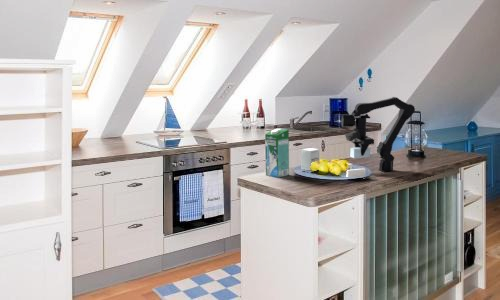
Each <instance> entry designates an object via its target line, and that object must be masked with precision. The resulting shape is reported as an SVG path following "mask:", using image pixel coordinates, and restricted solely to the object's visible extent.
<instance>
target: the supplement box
mask: <svg viewBox="0 0 500 300" xmlns="http://www.w3.org/2000/svg"><path fill="white" fill-rule="evenodd" d="M300 153H301V154H300V155H301V157H300V158H301V162H300V163H301V164H300V165H301V167H300V169H305V170H311V169H310V166H311V163H312V162H315V161H319V162H320V148H313V147H309V148H308V147H307V148H303V149H301V151H300Z"/></svg>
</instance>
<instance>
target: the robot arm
mask: <svg viewBox="0 0 500 300" xmlns="http://www.w3.org/2000/svg"><path fill="white" fill-rule="evenodd" d="M390 106H391V107H392V106H395V107H396V108H397V109H399V110H398V116H397V118H396V120H395V122H394V123H393V126H392V127H391V129H390V131H389V133H388V135H387V136H386V137H385V139H384V141H379V144H378V145H377V147H376V154H377V155H378V156H379V158H380V160H379V168H378V171H381V172H383V173H389V172H390V173H391V172H395V169H394V160H395V156H394V155H393V154H391V153H392V151H393V145H394V142H395V141H396V139H397V137H398V135H399V134H400V132H401V130H402V128H403V127H404V126H405V123H406V122H407V121H408V120H409V119H410V118H411V117H412V115H413V114H415V112H416V110H415V109H416V108H415V106H414V105H413V104H412V103H411V104H410V103H406V102H405V101H403V100H402V99H399V98H398V97H396V96H392V97H389V98H386V99H382V100H381V99H380V100H377V101H372V102H358V103H357V104H356V105H355V106H354V110H353V111H352V112H351V113H350V114H345V113H344V114H342V116H341V121H340V124H341V127H342V128H352V127H354V126H355V127H354V128H353V131H351V132H348V133H345V135H344V136H345V139H346V141H348V142H351V143H352V144H353V146H354V148H356V147H361V156H363V155H364V153H365V151H366V149H367V148H368V147H369V146H370V145H374V144H375V139H374V138H372V137H368V136H367V131H369V130H368V128H367V119H371V116H370V115H369V114H368V113H371V112H372V111H374V110H379V109H382V108H387V107H390Z"/></svg>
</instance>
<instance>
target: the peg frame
mask: <svg viewBox="0 0 500 300" xmlns="http://www.w3.org/2000/svg"><path fill="white" fill-rule="evenodd" d="M347 164H348V167H349V168H346V169H347V171H345V172H344V173H346V177H360V176H365V178H363V179H366V168H365V167H364V168H355V169H354V168H353V163H347ZM363 179H362V180H363Z"/></svg>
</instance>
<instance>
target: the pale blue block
mask: <svg viewBox="0 0 500 300" xmlns="http://www.w3.org/2000/svg"><path fill="white" fill-rule="evenodd" d="M349 149H350V151H349V152H350V155H349V156H350V158H352V159H361V158H370V157H371V147H369V146H368V148H367V149H366V151H365V153H364V155H363V156H361V147H356V148H355V147H350V148H349Z"/></svg>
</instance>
